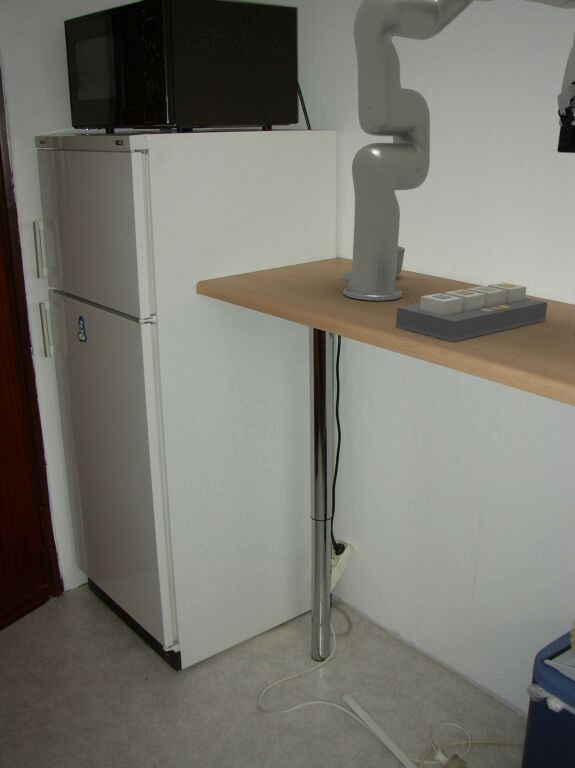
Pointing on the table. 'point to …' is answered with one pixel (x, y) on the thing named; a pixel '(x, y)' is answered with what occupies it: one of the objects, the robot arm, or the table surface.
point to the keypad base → (471, 319)
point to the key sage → (491, 295)
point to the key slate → (441, 304)
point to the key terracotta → (469, 299)
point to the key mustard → (511, 291)
